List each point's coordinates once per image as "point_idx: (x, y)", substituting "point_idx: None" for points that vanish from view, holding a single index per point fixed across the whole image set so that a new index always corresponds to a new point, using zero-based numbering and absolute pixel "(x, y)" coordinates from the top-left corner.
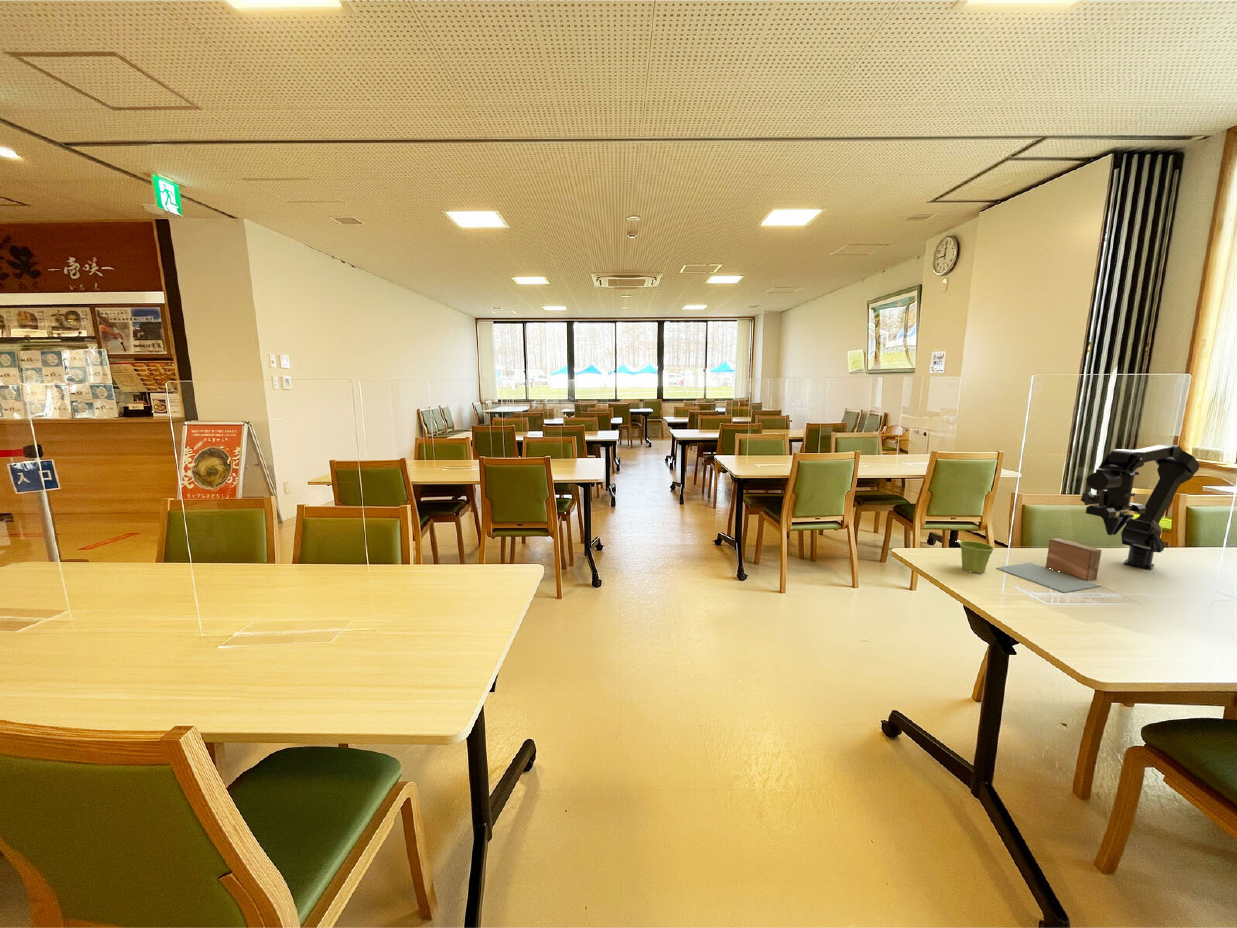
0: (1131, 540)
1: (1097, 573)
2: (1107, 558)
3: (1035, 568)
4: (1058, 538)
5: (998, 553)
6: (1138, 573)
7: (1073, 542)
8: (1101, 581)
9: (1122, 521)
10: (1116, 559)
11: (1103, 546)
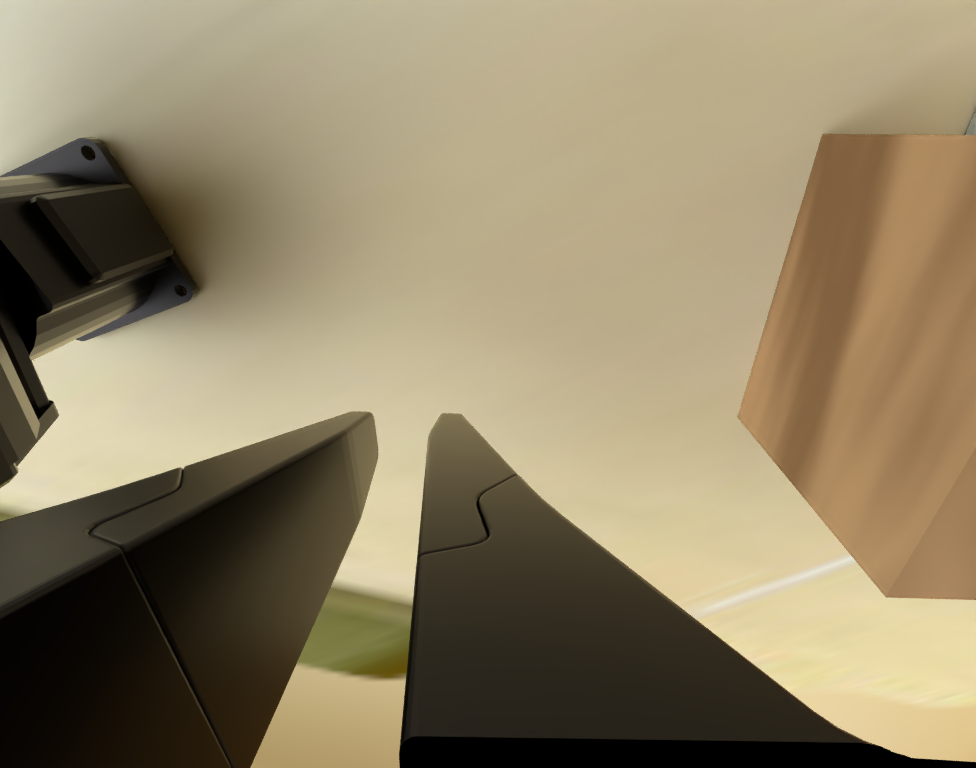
0: (5, 360)
1: (861, 135)
2: (202, 400)
3: None
4: (904, 591)
5: (769, 616)
6: (294, 116)
7: (971, 474)
8: (838, 89)
9: (161, 590)
10: (155, 370)
11: None
